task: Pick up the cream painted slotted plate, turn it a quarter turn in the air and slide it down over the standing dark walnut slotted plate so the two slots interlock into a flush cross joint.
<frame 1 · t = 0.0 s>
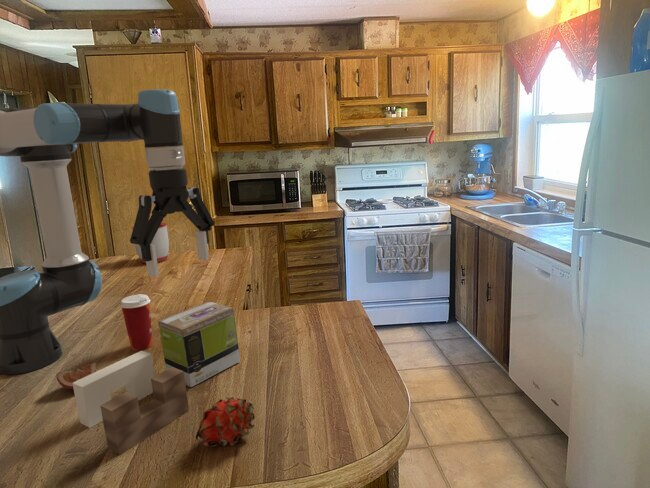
hand: (179, 266, 102), 28 cm above the table, tool pointing down, fingers open, 13 cm apart
cream slotted plate: (120, 405, 101), on the table
walnut slotted plate: (150, 428, 92), on the table
citrus juicer: (153, 260, 224), on the table
fruit slice: (80, 388, 110), on the table
paper cup: (142, 346, 130), on the table
tea box: (204, 370, 115), on the table
dragon fruit: (227, 441, 88), on the table
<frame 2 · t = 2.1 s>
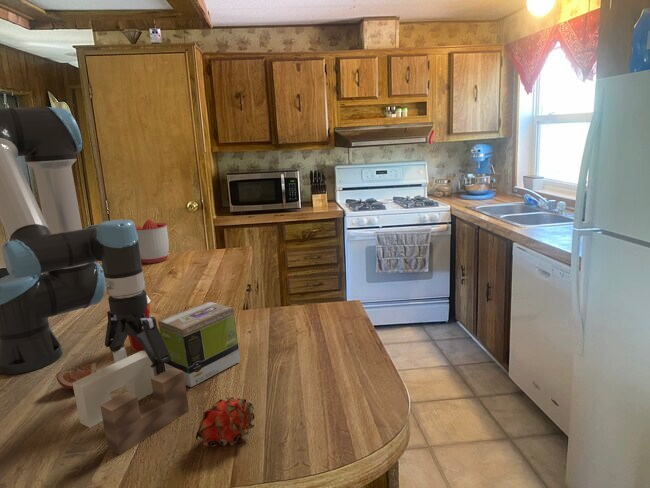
hand: (141, 383, 105), 3 cm above the table, tool pointing down, fingers open, 13 cm apart
nothing on the table moved.
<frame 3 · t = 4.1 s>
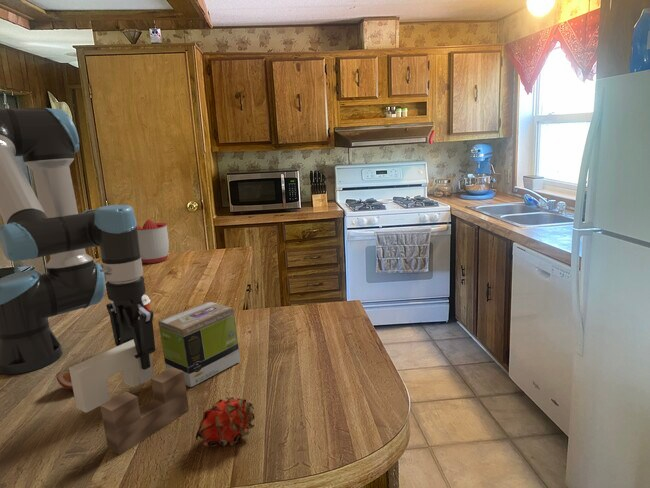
hand: (139, 378, 105), 4 cm above the table, tool pointing down, fingers closed on cream slotted plate, 3 cm apart
cream slotted plate: (117, 391, 101), point 3 cm above the table, touching gripper
everything else where it was.
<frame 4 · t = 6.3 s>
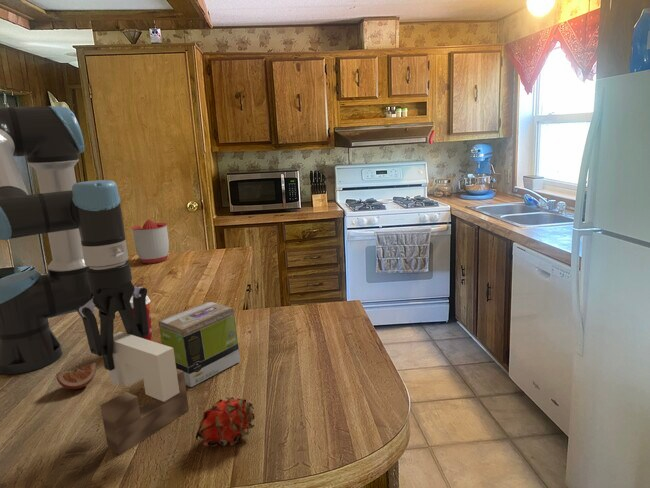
hand: (126, 377, 93), 10 cm above the table, tool pointing down, fingers closed on cream slotted plate, 3 cm apart
cream slotted plate: (144, 386, 90), point 9 cm above the table, touching gripper
everything else where it was.
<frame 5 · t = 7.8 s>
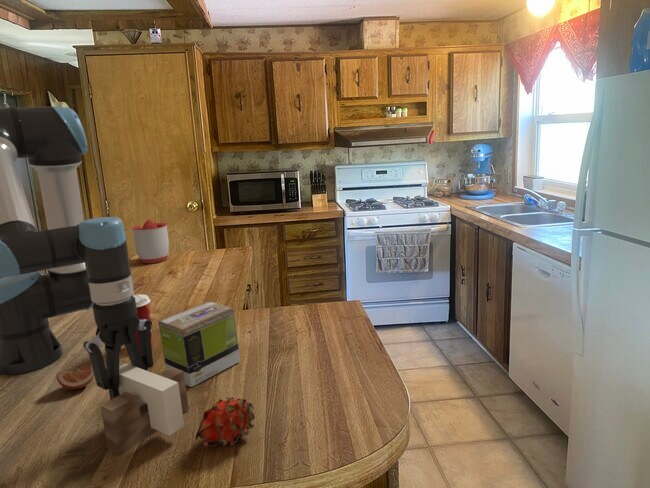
hand: (132, 409, 95), 3 cm above the table, tool pointing down, fingers closed on cream slotted plate, 3 cm apart
cream slotted plate: (149, 418, 92), point 2 cm above the table, touching gripper
everything else where it was.
when the fingers open (2 cm above the table, at t = 8.7 s): cream slotted plate drops 1 cm, on the table.
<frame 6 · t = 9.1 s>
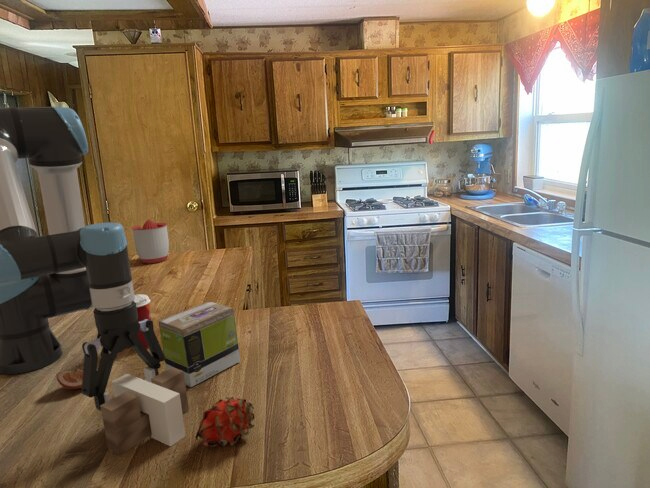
hand: (131, 409, 95), 3 cm above the table, tool pointing down, fingers open, 9 cm apart
cream slotted plate: (151, 428, 92), on the table
everything else where it was.
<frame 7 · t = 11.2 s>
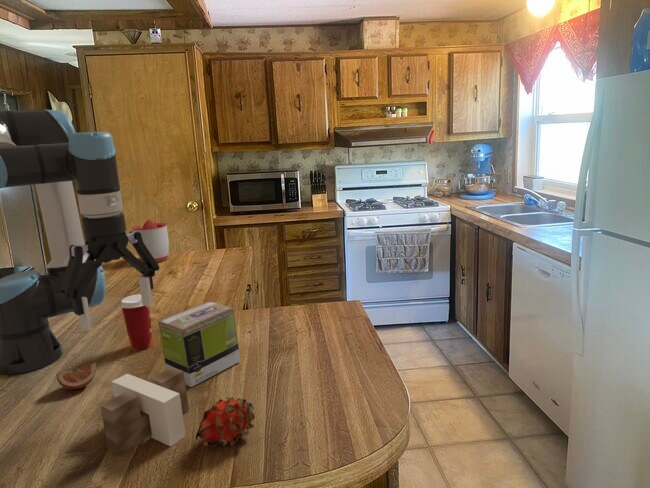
hand: (118, 316, 96), 20 cm above the table, tool pointing down, fingers open, 13 cm apart
nothing on the table moved.
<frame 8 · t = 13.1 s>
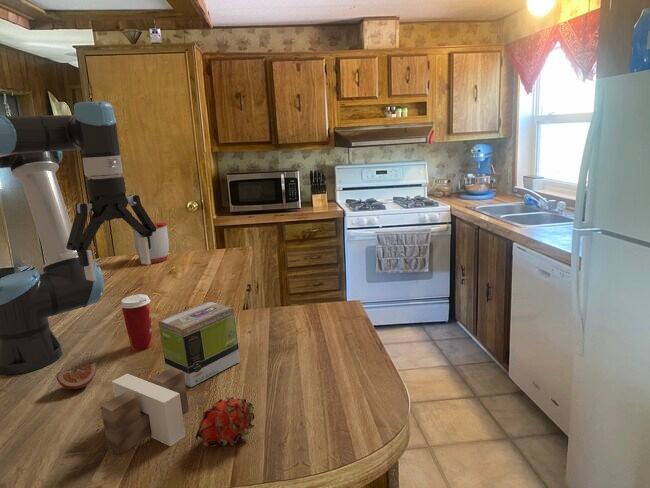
hand: (120, 271, 106), 27 cm above the table, tool pointing down, fingers open, 13 cm apart
nothing on the table moved.
at the end: cream slotted plate 0.0 cm off-centre on the walnut slotted plate, point 0.0 cm above the walnut slotted plate's base; cream slotted plate tilted 0°; the gripper is holding nothing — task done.
